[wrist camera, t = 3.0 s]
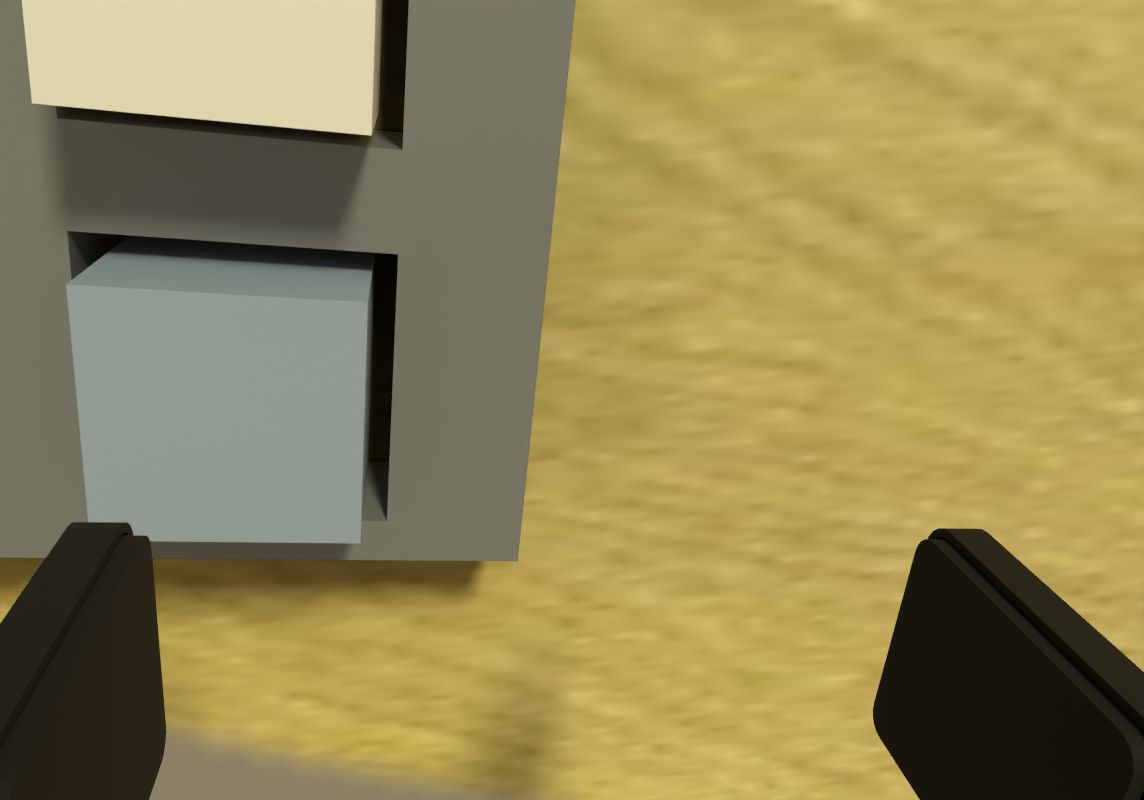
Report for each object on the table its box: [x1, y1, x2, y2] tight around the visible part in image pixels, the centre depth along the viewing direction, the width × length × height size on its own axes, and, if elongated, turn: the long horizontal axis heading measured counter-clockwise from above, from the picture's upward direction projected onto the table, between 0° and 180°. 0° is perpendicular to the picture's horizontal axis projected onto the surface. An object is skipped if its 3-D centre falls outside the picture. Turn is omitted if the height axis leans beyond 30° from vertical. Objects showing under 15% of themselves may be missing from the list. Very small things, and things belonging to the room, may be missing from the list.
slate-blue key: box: [66, 235, 375, 544], centre depth 19 cm, size 5×5×4 cm
